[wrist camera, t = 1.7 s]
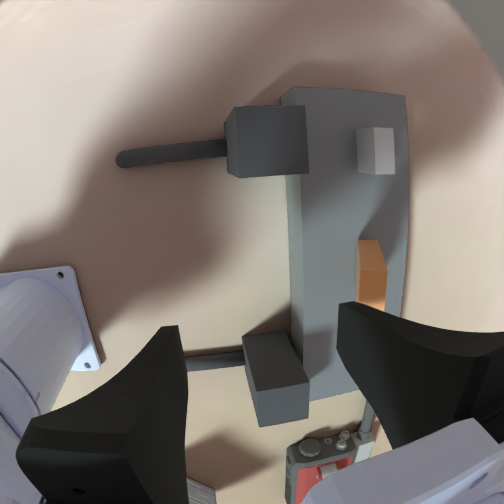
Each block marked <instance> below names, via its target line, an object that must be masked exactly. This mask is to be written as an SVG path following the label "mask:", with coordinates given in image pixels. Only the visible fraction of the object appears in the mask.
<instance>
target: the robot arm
mask: <svg viewBox="0 0 504 504" xmlns="http://www.w3.org/2000/svg"><path fill="white" fill-rule="evenodd" d="M59 272H62V273H63V275H64V277H61V276H60V275H59ZM336 349H337V352H338V354H339V356H340V358H341V360H342V362H343V365H344V367H345V368H346V370H347V372H348V373H349V375H350V376H351V378H352V379H353V380H354V382H355V383H356V385H357V386H358V388H359V389H360V391H361V392H362V394H363V395H364V396H365V398H366V399H367V401H368V402H369V404H370V405H371V407H372V408H373V410H374V412H375V413H376V415H377V417H378V419H379V421H380V423H381V425H382V427H383V429H384V431H385V433H386V435H387V438H388V440H389V442H390V444H391V447H392V449H393V450H391V451H388V452H385V453H383V454H380V455H377V456H374V457H371V458H368V459H365V460H362V461H359V462H356V463H354V464H352V465H349V466H347V467H345V468H343V469H340V470H338V471H335V472H333V473H331V474H330V475H328V476H327V477H325V478H324V479H323V480H321V481H320V482H318V483H317V484H315V485H314V486H312V488H311V489H310V490H309V492H308V493H307V495H306V496H305V498H304V499H303V501H302V503H301V504H504V332H494V333H478V332H463V331H454V330H447V329H441V328H436V327H432V326H427V325H423V324H419V323H416V322H413V321H410V320H406V319H403V318H400V317H398V316H395V315H392V314H389V313H387V312H384V311H381V310H379V309H376V308H373V307H371V306H368V305H365V304H362V303H359V302H355V301H351V302H345V303H339V308H338V327H337V343H336ZM86 362H87V363H89V364H90V365H88V364H86ZM100 366H101V362H100V359H99V356H98V353H97V350H96V347H95V344H94V341H93V338H92V334H91V331H90V328H89V324H88V321H87V318H86V314H85V310H84V307H83V303H82V299H81V295H80V292H79V288H78V283H77V279H76V275H75V271H74V269H73V268H72V267H70V266H60V267H51V268H43V269H34V270H26V271H17V272H9V273H1V274H0V504H189V498H188V489H187V478H186V465H185V429H186V416H187V403H188V377H187V368H186V363H185V358H184V353H183V349H182V344H181V339H180V333H179V328H178V325H174V326H164V327H161V328H160V329H159V330H158V331H157V332H156V334H155V335H154V336H153V337H152V338H151V340H150V341H149V342H148V343H147V344H146V346H145V347H144V348H143V349H142V350H141V351H140V352H139V353H138V354H137V355H136V356H135V357H134V358H133V359H132V360H131V361H130V362H129V363H128V365H127V366H126V367H124V368H123V369H122V370H121V371H120V372H119V373H118V374H116V375H115V376H114V377H113V378H111V379H110V380H109V381H108V382H106V383H105V384H103V385H102V386H100V387H99V388H97V389H96V390H94V391H92V392H91V393H89V394H88V395H86V396H84V397H83V398H81V399H79V400H77V401H75V402H73V403H71V404H69V405H66V406H64V407H62V408H60V409H57V410H54V411H52V412H51V409H52V407H53V405H54V403H55V401H56V399H57V397H58V394H59V392H60V390H61V388H62V386H63V384H64V382H65V380H66V378H67V376H68V374H69V372H70V371H93V370H98V369H100Z"/></svg>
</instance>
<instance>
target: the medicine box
mask: <svg viewBox="0 0 504 504" xmlns="http://www.w3.org/2000/svg"><path fill="white" fill-rule="evenodd" d="M186 478H187V477H186ZM187 489H188V498H189V504H217V502H216V494H215V490H214V489H212V488H209V487H207V486H205V485H202V484H200V483H198V482H196V481H194V480H192V479H189V478H187Z"/></svg>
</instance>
